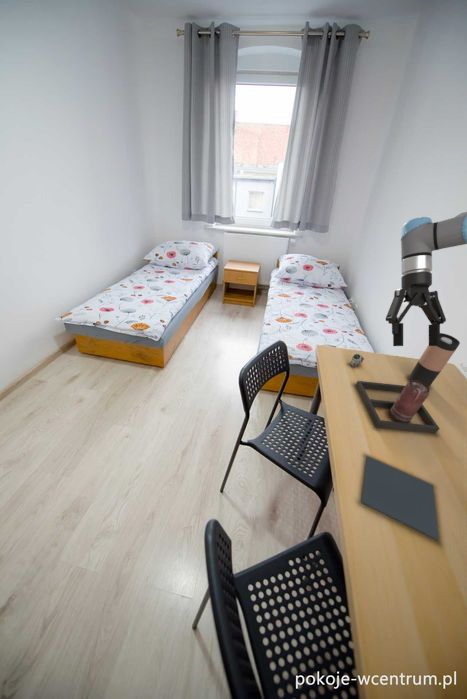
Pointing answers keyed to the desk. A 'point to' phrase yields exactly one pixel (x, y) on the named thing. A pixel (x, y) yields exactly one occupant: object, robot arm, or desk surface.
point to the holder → (371, 403)
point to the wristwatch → (356, 360)
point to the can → (409, 401)
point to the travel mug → (434, 359)
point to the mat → (400, 497)
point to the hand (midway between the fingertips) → (416, 346)
